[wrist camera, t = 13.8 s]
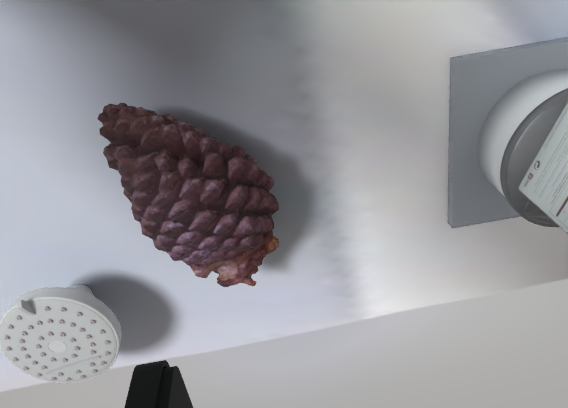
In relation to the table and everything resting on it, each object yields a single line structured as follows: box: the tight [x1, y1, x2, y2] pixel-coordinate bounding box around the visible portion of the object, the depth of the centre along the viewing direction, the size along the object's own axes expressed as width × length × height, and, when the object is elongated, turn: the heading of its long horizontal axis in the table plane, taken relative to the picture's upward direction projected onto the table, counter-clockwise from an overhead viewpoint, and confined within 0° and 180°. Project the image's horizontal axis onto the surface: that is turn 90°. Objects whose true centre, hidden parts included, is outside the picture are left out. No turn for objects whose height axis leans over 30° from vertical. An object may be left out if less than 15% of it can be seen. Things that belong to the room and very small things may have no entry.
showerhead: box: [0, 284, 122, 383], centre depth 42 cm, size 9×7×10 cm
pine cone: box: [98, 103, 279, 287], centre depth 36 cm, size 18×10×10 cm, turn 35°
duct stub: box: [448, 37, 568, 228], centre depth 39 cm, size 15×15×6 cm
